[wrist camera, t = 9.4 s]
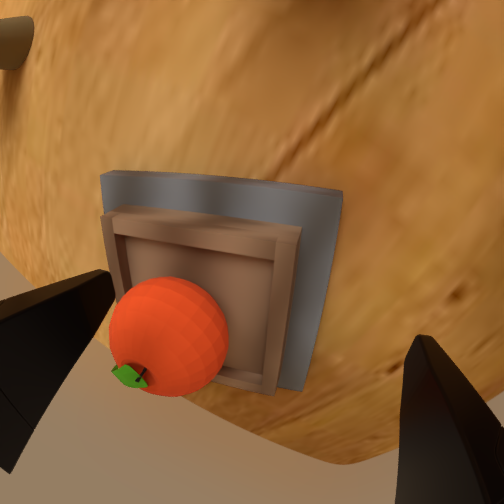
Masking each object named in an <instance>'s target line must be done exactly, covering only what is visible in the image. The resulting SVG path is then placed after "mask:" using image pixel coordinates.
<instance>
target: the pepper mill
mask: <svg viewBox="0 0 504 504" xmlns="http://www.w3.org/2000/svg"><path fill="white" fill-rule="evenodd" d="M33 35H34V22H33V20H32V18H31V17H29V16H21V17H12V18H5V19H0V69H3V70H15V69H17V68H19V67H20V65H21V64H22V63H23V62H24V60H25V58H26V56H27V55H28V52H29V50H30V47H31V44H32V40H33Z"/></svg>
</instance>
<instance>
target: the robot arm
mask: <svg viewBox="0 0 504 504" xmlns="http://www.w3.org/2000/svg"><path fill="white" fill-rule="evenodd" d="M115 297H116V292H115V288H114V284H113V280H112V276H111V274H110V272H108V271H105V270H101V269H98V270H94V271H91V272H88V273H85V274H81V275H78V276H75V277H72V278H69V279H65V280H62V281H59V282H56V283H53V284H50V285H47V286H43V287H40V288H37V289H34V290H31V291H28V292H25V293H22V294H19V295H16V296H13V297H10V298H7V299H6V300H5V299H4V300H1V301H0V467H1V468H2V469H3V470H5V471H6V472H7V473H9V474H10V473H11V472H12V471H13V469H14V467H15V465H16V463H17V461H18V459H19V457H20V455H21V453H22V452H23V450H24V448H25V446H26V444H27V442H28V440H29V439H30V437H31V435H32V433H33V432H34V429H35V428H36V426H37V424H38V422H39V421H40V419H41V417H42V416H43V414H44V412H45V411H46V409H47V407H48V406H49V404H50V402H51V401H52V399H53V398H54V396H55V394H56V393H57V391H58V390H59V388H60V386H61V385H62V383H63V382H64V380H65V379H66V377H67V375H68V374H69V372H70V371H71V369H72V368H73V366H74V364H75V363H76V362H77V360H78V359H79V357H80V356H81V354H82V353H83V351H84V350H85V348H86V347H87V345H88V344H89V343H90V341H91V340H92V338H93V337H94V335H95V333H96V332H97V330H98V328H99V326H100V325H101V323H102V321H103V319H104V318H105V316H106V314H107V312H108V311H109V309H110V307H111V306H112V304H113V302H114V300H115ZM395 504H504V428H503V427H501V423H500V422H499V420H498V419H497V418H496V416H495V415H494V414H493V412H492V411H491V410H490V408H489V407H488V406H487V404H486V403H485V401H484V400H483V399H482V397H481V396H480V395H479V394H478V392H477V391H476V390H475V388H474V387H473V386H472V385H471V383H470V382H469V381H468V379H467V378H466V377H465V376H464V374H463V373H462V372H461V371H460V369H459V368H458V367H457V366H456V365H455V363H454V362H453V361H452V360H451V358H450V357H449V356H448V355H447V354H446V352H445V351H444V350H443V349H442V348H441V347H440V345H439V344H438V343H437V342H436V341H435V339H434V338H433V337H432V336H429V335H421V334H419V335H417V336H416V337H415V339H414V341H413V343H412V345H411V347H410V349H409V351H408V353H407V355H406V358H405V361H404V372H403V386H402V397H401V407H400V436H399V462H398V476H397V488H396V498H395Z"/></svg>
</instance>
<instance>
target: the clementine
mask: <svg viewBox="0 0 504 504" xmlns="http://www.w3.org/2000/svg"><path fill="white" fill-rule="evenodd" d="M109 340H110V349H111V352H112V355H113V357H114V360H115V362H116V364H117V365H116V366H115V367H114V368H113V369H112V371H111V372H112V373H113V374H114V375H115V376H116V377H117V378H118V379H119V380H120V381H121V382H122V383H123V384H124V385H126V386H128V387H132V388H140V389H142V390H143V391H146V392H148V393H151V394H155V395H161V396H168V397H174V396H175V397H177V396H182V395H186V394H189V393H192V392H195V391H198V390H199V389H201V388H202V387H204V386H205V385H207V384H208V383H209V382H210V381H211V380H212V379H213V378H214V377H215V376H216V375H217V373H218V372H219V370H220V369H221V368H222V365H223V363H224V360H225V358H226V354H227V351H228V347H229V335H228V326H227V322H226V319H225V316H224V314H223V312H222V311H221V309H220V307H219V306H218V304H217V302H216V301H215V300H214V299H213V297H212V296H211V295H210V294H209V293H208V292H207V291H205V290H204V289H203V288H201V287H200V286H198V285H196V284H194V283H192V282H190V281H187V280H184V279H180V278H176V277H157V278H152V279H148V280H146V281H143V282H141V283H139V284H137V285H136V286H134V287H133V288H131V289H130V290H129V291H128V292H127V293H126V294H125V295H124V296H123V297H122V298H121V300H120V301H119V302H118V304H117V305H116V307H115V309H114V312H113V315H112V318H111V322H110V325H109ZM118 368H119V369H118Z"/></svg>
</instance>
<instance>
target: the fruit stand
mask: <svg viewBox="0 0 504 504" xmlns="http://www.w3.org/2000/svg"><path fill="white" fill-rule="evenodd" d="M100 181H101V191H102V200H103V208H104V215H102V216H100V218H101V224H102V231H103V237H104V243H105V249H106V255H107V260H108V265H109V270H110V274H111V276H112V280H113V284H114V288H115V292H116V297H115V298H116V302H117V304H118V302H119V301H120V300H121V298H122V297H123V296H124V295H125V294H126V293H127V292H128V291H129V290H130V289H131V288H133V287H134V286H136V285H137V284H139V283H141V282H143V281H146V280H148V279H152V278H157V277H176V278H180V279H184V280H187V281H190V282H192V283H194V284H196V285H198V286H200V287H201V288H203V289H204V290H205V291H207V292H208V293H209V294H210V295H211V296H212V297H213V299H214V300H215V301H216V302H217V304H218V306H219V307H220V309H221V311H222V312H223V314H224V316H225V319H226V322H227V326H228V335H229V347H228V351H227V354H226V358H225V360H224V363H223V365H222V368H221V369H220V370H219V372H218V373H217V375H216V376H215V377H214V378H213V379H212V380H211V381H212V382H216V383H220V384H223V385H227V386H231V387H235V388H239V389H243V390H247V391H252V392H256V393H261V394H265V395H270V396H274V395H275V392H276V388H277V387H279V388H284V389H290V390H295V391H301V392H302V391H303V387H304V383H305V380H306V376H307V372H308V368H309V365H310V361H311V357H312V353H313V349H314V345H315V341H316V336H317V332H318V328H319V324H320V319H321V315H322V310H323V306H324V301H325V296H326V291H327V287H328V282H329V277H330V271H331V266H332V261H333V256H334V250H335V244H336V239H337V233H338V227H339V220H340V214H341V208H342V201H343V192H342V191H339V190H332V189H326V188H319V187H312V186H304V185H297V184H289V183H281V182H273V181H264V180H255V179H245V178H235V177H224V176H212V175H199V174H185V173H169V172H148V171H119V170H113V171H110V172H107V173H104V174H102V175H100Z"/></svg>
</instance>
